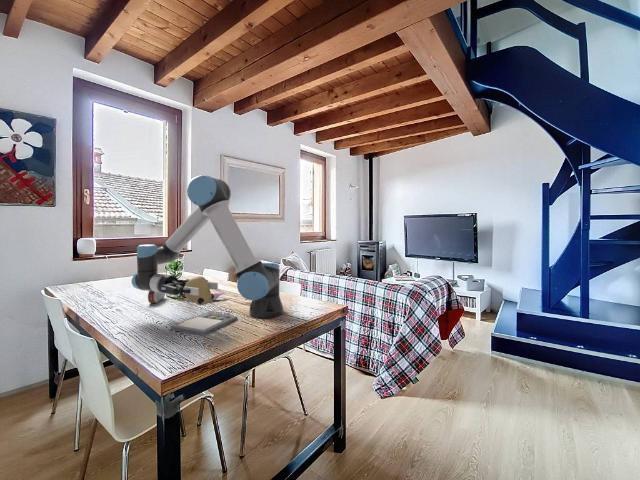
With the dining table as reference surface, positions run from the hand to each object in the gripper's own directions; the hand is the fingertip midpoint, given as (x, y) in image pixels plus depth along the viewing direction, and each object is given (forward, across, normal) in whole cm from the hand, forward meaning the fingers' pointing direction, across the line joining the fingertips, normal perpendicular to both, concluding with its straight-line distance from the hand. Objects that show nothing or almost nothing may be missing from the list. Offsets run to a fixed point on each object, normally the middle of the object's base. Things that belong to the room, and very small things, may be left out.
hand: (208, 288), depth 121 cm
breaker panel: (-4, -3, -15) cm, 16 cm away
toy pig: (-4, 0, -6) cm, 8 cm away
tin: (-51, -21, -16) cm, 58 cm away
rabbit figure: (-26, -33, -16) cm, 45 cm away
